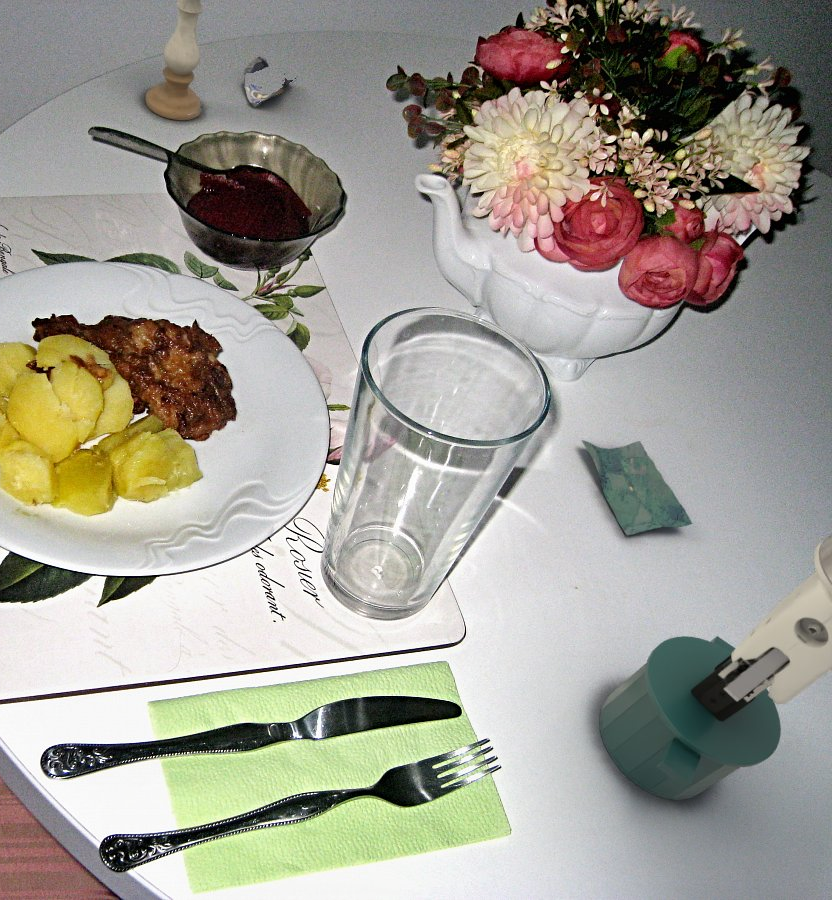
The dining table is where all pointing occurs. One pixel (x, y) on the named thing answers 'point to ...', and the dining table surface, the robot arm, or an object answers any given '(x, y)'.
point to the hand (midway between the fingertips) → (719, 693)
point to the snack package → (257, 93)
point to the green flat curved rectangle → (636, 489)
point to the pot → (654, 744)
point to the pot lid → (722, 742)
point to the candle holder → (179, 68)
